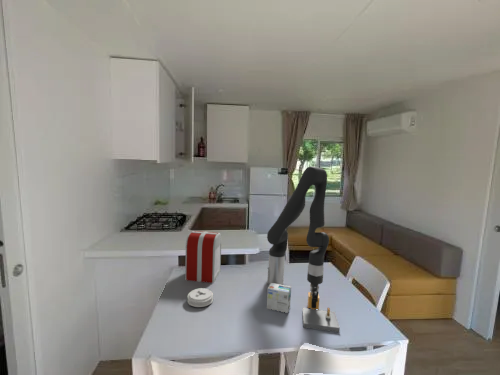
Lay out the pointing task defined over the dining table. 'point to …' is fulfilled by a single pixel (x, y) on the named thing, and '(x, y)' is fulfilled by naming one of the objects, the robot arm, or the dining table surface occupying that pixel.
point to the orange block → (311, 301)
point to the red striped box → (203, 256)
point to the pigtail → (328, 314)
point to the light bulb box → (279, 297)
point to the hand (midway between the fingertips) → (313, 304)
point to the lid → (200, 297)
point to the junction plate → (320, 320)
